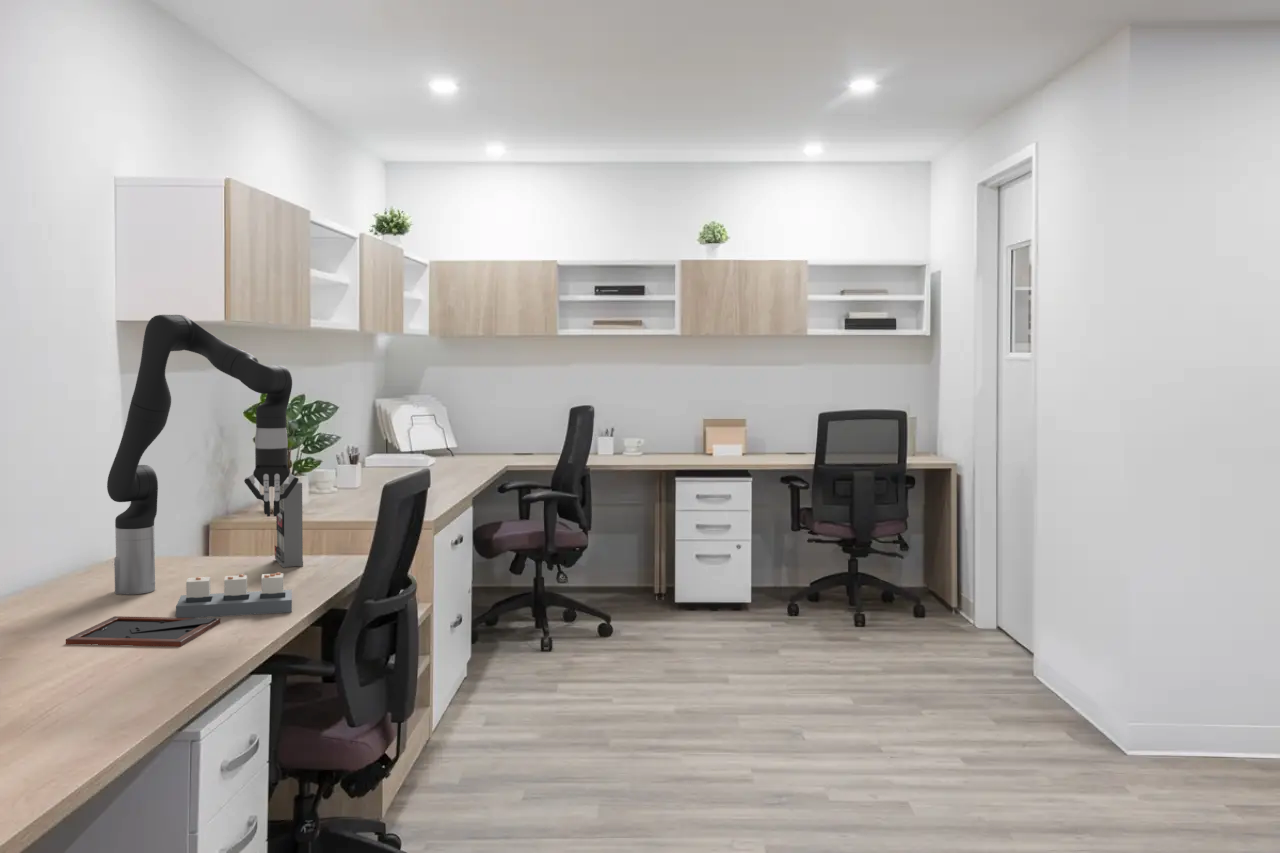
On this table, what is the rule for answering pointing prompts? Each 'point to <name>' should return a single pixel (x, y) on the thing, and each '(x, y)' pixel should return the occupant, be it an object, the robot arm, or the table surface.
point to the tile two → (235, 585)
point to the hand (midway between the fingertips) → (272, 515)
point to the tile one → (198, 587)
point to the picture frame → (145, 631)
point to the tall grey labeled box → (290, 528)
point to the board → (234, 604)
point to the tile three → (272, 583)
